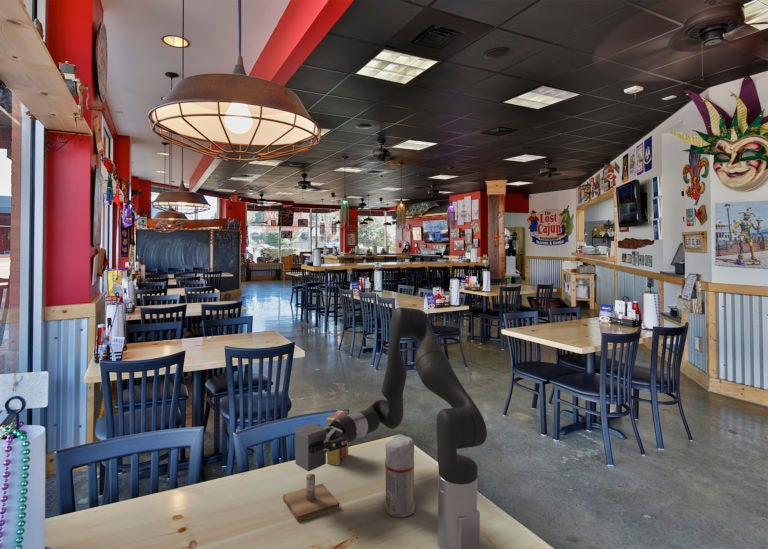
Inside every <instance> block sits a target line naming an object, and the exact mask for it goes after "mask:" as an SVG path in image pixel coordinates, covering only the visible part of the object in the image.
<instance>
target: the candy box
mask: <svg viewBox="0 0 768 549" xmlns="http://www.w3.org/2000/svg"><path fill="white" fill-rule="evenodd" d="M346 415H348V411H345V410H336V411H335V412H334V413H332V414H331V415H330V416H329V417H327V418H326V419H325V421H326V422H325V423H326V424H325V425H326V426H325V427H329V426H330V425H331V423H332V421H333V420H335V419H338V418H341V417H343V416H346ZM334 446H335V444H334V445H333V447H334ZM348 453H349V443H347V446H346V447H343V448H340V449H337V450H334V451H328V449H327V450H326V464H328V465H333V466H334V465H335V466H339V464H340V463H342V461H344V460H345V458H346V457H347V456H348V455H349V454H348Z"/></svg>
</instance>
